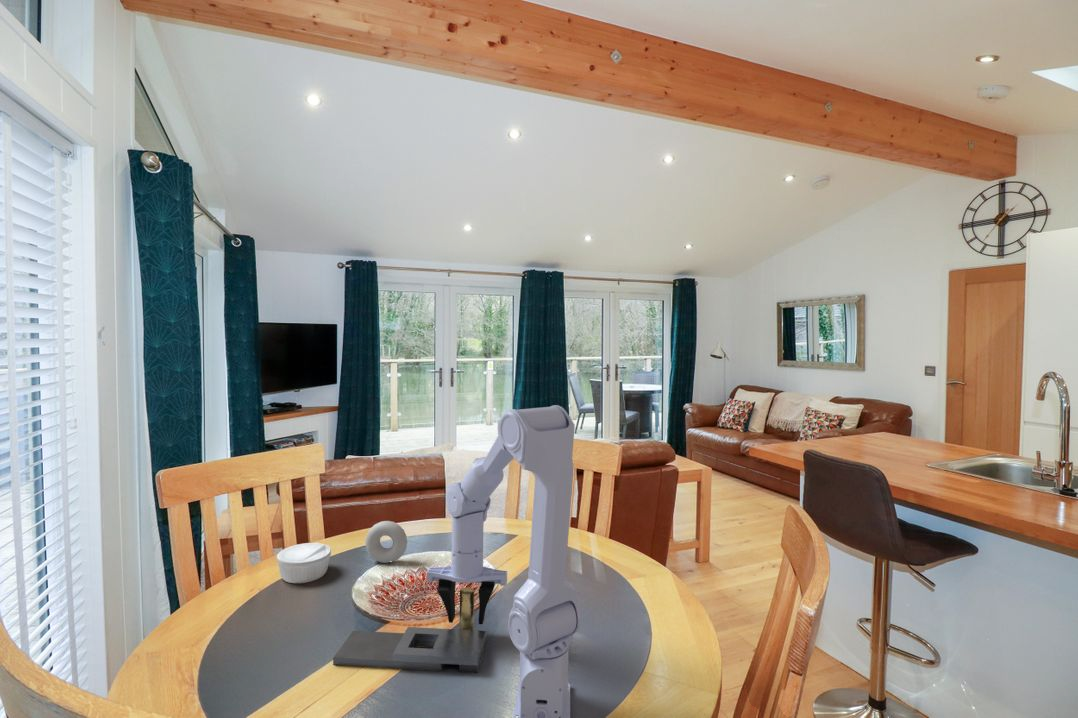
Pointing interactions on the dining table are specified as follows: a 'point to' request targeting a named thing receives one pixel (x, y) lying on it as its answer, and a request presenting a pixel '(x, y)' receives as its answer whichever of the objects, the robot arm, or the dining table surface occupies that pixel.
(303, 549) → the ramekin
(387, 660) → the link
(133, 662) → the dining table surface
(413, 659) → the link
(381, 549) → the donut
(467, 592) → the pin
